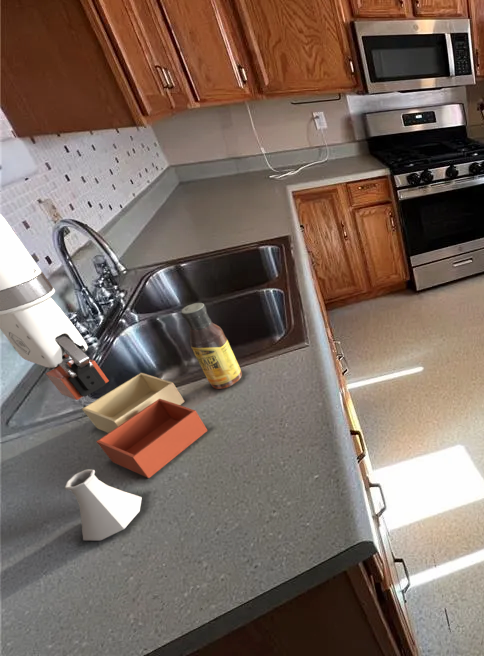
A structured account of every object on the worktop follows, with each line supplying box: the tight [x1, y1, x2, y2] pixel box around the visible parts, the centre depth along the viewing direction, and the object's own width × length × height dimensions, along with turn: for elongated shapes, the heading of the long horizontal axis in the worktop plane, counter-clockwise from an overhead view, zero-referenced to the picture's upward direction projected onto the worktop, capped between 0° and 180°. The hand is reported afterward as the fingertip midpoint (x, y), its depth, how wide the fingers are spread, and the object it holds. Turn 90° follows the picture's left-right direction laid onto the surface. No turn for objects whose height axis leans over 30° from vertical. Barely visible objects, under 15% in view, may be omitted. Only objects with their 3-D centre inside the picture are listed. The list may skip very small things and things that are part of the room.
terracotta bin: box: [95, 399, 208, 479], centre depth 77 cm, size 11×11×6 cm
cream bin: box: [81, 372, 185, 434], centre depth 85 cm, size 11×11×6 cm
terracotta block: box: [45, 358, 110, 401], centre depth 68 cm, size 4×4×4 cm
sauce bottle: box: [180, 302, 243, 390], centre depth 89 cm, size 7×6×20 cm
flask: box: [64, 469, 143, 541], centre depth 64 cm, size 7×7×10 cm
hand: (84, 386), depth 69 cm, fingers closed on terracotta block, 4 cm apart
